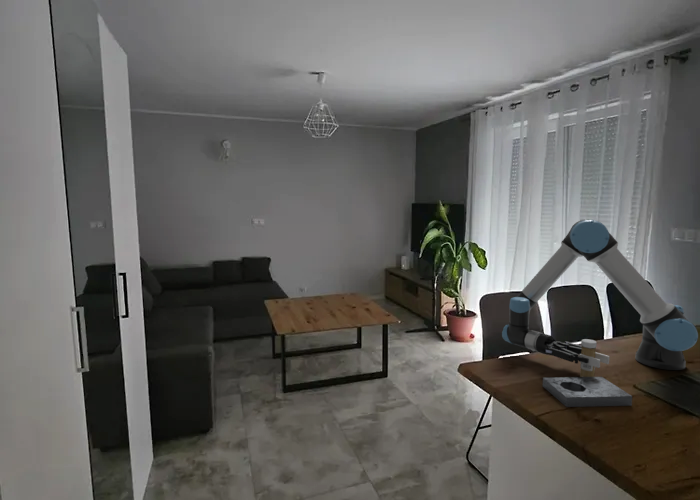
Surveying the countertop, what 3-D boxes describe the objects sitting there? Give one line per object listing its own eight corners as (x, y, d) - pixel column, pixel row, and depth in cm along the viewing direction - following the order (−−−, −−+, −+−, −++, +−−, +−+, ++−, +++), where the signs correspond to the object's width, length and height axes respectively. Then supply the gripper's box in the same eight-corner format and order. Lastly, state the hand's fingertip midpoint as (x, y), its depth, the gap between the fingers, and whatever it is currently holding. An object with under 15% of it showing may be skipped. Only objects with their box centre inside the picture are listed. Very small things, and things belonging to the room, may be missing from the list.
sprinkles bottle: (597, 378, 137) (599, 341, 136) (590, 381, 135) (592, 343, 134) (583, 373, 141) (585, 337, 140) (576, 376, 139) (578, 340, 137)
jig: (601, 385, 132) (601, 376, 132) (631, 405, 118) (632, 396, 118) (542, 386, 132) (542, 377, 131) (566, 406, 118) (566, 397, 118)
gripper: (553, 347, 158) (617, 366, 138) (525, 356, 148) (589, 378, 129) (554, 329, 157) (618, 346, 137) (526, 337, 148) (590, 356, 128)
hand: (604, 361), depth 133 cm, fingers open, 5 cm apart
